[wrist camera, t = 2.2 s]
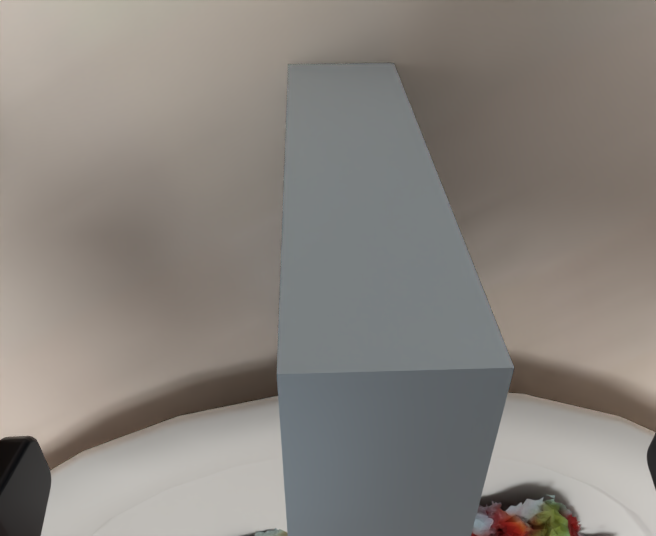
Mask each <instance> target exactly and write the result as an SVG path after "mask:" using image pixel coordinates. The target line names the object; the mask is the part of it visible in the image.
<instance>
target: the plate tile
mask: <svg viewBox="0 0 656 536" xmlns="http://www.w3.org/2000/svg"><path fill="white" fill-rule="evenodd" d="M513 371H514V366H513V363H512V361H511V358H510V355H509V353H508V350H507V348H506V345H505V343H504V340H503V338H502V335H501V333H500V330H499V328H498V325H497V323H496V320H495V318H494V315H493V312H492V310H491V307H490V305H489V302H488V300H487V297H486V295H485V292H484V290H483V287H482V285H481V282H480V280H479V277H478V275H477V272H476V269H475V267H474V264H473V262H472V259H471V257H470V254H469V252H468V249H467V247H466V244H465V242H464V239H463V237H462V234H461V232H460V229H459V226H458V224H457V221H456V219H455V216H454V214H453V211H452V209H451V206H450V204H449V201H448V199H447V196H446V194H445V191H444V189H443V186H442V184H441V181H440V178H439V176H438V173H437V171H436V168H435V166H434V163H433V161H432V158H431V156H430V153H429V151H428V148H427V146H426V143H425V141H424V138H423V135H422V133H421V130H420V128H419V125H418V123H417V120H416V118H415V115H414V113H413V110H412V108H411V105H410V103H409V100H408V98H407V95H406V92H405V90H404V87H403V85H402V82H401V80H400V77H399V75H398V72H397V70H396V67H395V65H394V63H350V64H288V84H287V111H286V137H285V164H284V191H283V218H282V245H281V271H280V298H279V325H278V352H277V387H278V401H279V416H280V431H281V446H282V460H283V475H284V490H285V504H286V519H287V534H288V536H471V534H472V530H473V526H474V522H475V518H476V515H477V511H478V507H479V503H480V499H481V495H482V491H483V487H484V483H485V480H486V476H487V472H488V468H489V464H490V460H491V456H492V452H493V449H494V445H495V441H496V437H497V433H498V429H499V425H500V421H501V417H502V414H503V410H504V406H505V402H506V398H507V394H508V390H509V386H510V382H511V379H512V375H513Z"/></svg>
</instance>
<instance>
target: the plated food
mask: <svg viewBox="0 0 656 536" xmlns="http://www.w3.org/2000/svg"><path fill="white" fill-rule="evenodd" d="M655 433H656V432H654V431H652V430H649V429H647V428H645V427H643V426H640V425H638V424H636V423H634V422H632V421H629V420H627V419H625V418H623V417H620V416H617V415H612V414H608V413H604V412H599V411H595V410H591V409H586V408H582V407H578V406H574V405H569V404H565V403H561V402H556V401H552V400H548V399H544V398H539V397H535V396H531V395H526V394H519V393H508V394H507V398H506V402H505V406H504V410H503V414H502V417H501V421H500V425H499V429H498V433H497V437H496V441H495V445H494V449H493V452H492V456H491V460H490V464H489V468H488V472H487V476H486V480H485V483H484V487H483V491H482V495H481V499H480V503H479V507H478V511H477V515H476V518H475V522H474V526H473V530H472V534H471V536H656V489H655V486H654V483H653V480H652V477H651V474H650V471H649V468H648V464H647V450H648V447H649V445H650V443H651V441H652V439H653V437H654V435H655ZM50 472H51V489H50V494H49V499H48V503H47V508H46V513H45V518H44V523H43V528H42V532H41V536H288V534H287V519H286V504H285V490H284V475H283V460H282V446H281V431H280V416H279V401H278V396H274V397H269V398H264V399H260V400H255V401H250V402H245V403H240V404H235V405H230V406H225V407H220V408H215V409H210V410H205V411H201V412H196V413H191V414H186V415H181V416H177V417H174V418H172V419H169V420H166V421H163V422H161V423H158V424H155V425H153V426H150V427H147V428H144V429H142V430H139V431H136V432H133V433H131V434H128V435H125V436H123V437H120V438H117V439H114V440H112V441H109V442H106V443H103V444H101V445H98V446H95V447H93V448H90V449H87V450H84V451H82V452H81V453H79V454H77V455H76V456H74V457H72V458H70V459H69V460H67V461H65V462H64V463H62V464H60V465H59V466H57V467H55V468H54V469H52V470H50Z"/></svg>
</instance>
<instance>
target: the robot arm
mask: <svg viewBox="0 0 656 536" xmlns="http://www.w3.org/2000/svg"><path fill="white" fill-rule="evenodd" d="M647 464H648V468H649V471H650V474H651V477H652V480H653V483H654V486H655V489H656V433H655V435H654V437H653V439H652V441H651V443H650V445H649V447H648V450H647ZM50 489H51V472H50V469H49V466H48V464H47V462H46V460H45V457H44V455H43V453H42V450H41V448H40V446H39V444H38V442H37V440H36V439H35V438H33V437H32V436H17V437H5V438H3V439H1V440H0V536H41V532H42V528H43V523H44V518H45V513H46V508H47V503H48V499H49V494H50Z"/></svg>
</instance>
